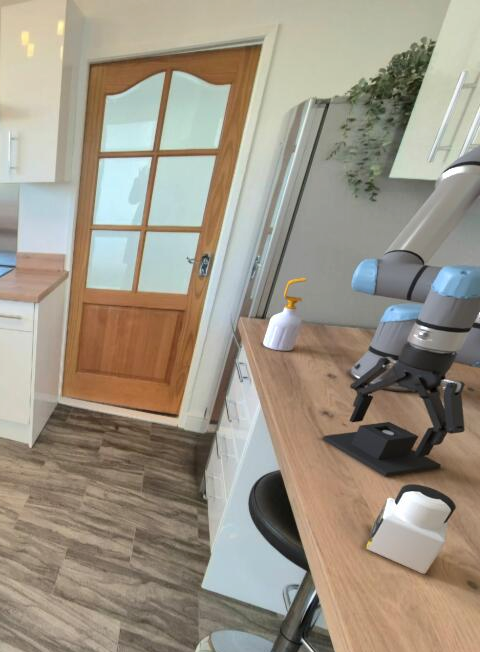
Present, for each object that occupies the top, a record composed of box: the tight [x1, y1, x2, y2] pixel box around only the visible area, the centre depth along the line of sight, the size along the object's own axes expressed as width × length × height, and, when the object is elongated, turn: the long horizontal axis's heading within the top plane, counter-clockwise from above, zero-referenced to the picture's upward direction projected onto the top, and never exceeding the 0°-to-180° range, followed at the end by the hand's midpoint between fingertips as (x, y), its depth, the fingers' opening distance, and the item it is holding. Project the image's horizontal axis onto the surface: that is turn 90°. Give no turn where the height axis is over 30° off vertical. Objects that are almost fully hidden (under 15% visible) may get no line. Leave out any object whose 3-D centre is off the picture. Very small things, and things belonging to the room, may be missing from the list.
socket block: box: [351, 421, 419, 460], centre depth 94 cm, size 8×6×5 cm
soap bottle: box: [262, 277, 307, 352], centre depth 148 cm, size 9×9×25 cm
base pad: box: [322, 430, 442, 477], centre depth 94 cm, size 14×14×6 cm
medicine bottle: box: [366, 483, 457, 575], centre depth 69 cm, size 7×7×12 cm
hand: (386, 437), depth 94 cm, fingers open, 13 cm apart
